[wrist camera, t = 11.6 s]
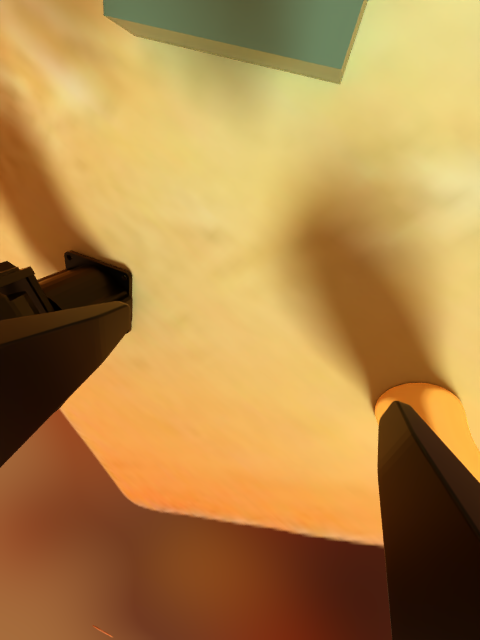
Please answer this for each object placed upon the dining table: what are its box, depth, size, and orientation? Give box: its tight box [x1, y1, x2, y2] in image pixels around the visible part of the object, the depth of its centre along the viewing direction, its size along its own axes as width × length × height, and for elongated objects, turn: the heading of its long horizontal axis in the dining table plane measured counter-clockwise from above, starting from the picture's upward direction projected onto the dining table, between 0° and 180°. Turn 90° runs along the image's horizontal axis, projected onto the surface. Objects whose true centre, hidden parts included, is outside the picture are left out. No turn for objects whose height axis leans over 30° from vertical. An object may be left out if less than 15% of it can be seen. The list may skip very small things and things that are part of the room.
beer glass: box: [375, 383, 480, 483], centre depth 16 cm, size 7×7×15 cm
